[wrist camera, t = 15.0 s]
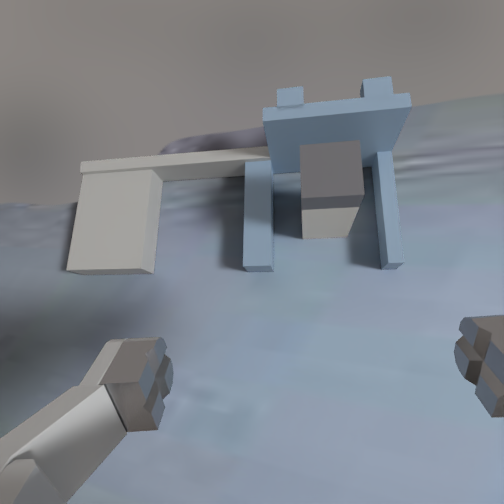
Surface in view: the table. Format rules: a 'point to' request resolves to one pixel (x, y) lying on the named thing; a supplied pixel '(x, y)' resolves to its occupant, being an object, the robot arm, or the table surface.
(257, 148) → the off-white flat angled piece
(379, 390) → the table surface
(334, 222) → the upright grey square pillar
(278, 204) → the table surface
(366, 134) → the blue bracket
